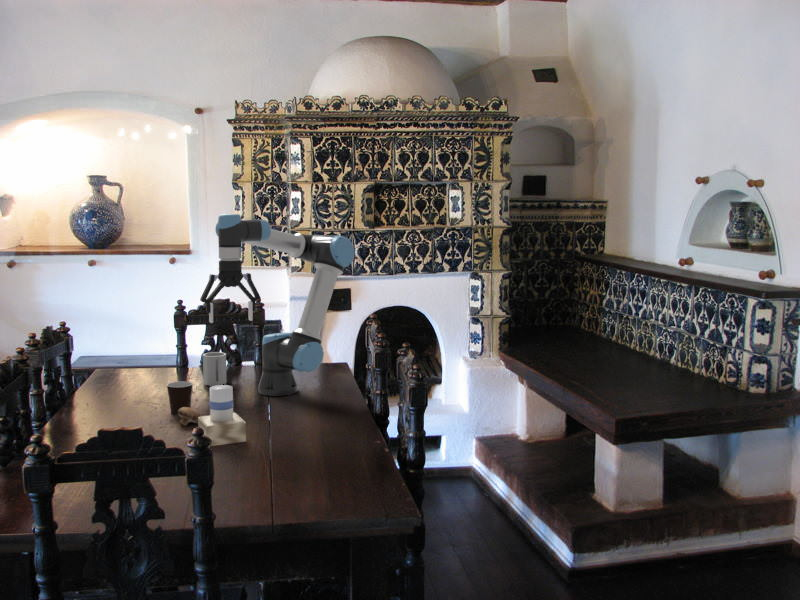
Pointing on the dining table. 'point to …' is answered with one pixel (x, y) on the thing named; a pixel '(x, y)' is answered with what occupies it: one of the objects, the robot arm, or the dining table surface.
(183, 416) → the mushroom
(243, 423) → the birch block
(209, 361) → the cup
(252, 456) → the dining table surface
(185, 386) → the coffee mug
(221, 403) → the white blue-banded canister
